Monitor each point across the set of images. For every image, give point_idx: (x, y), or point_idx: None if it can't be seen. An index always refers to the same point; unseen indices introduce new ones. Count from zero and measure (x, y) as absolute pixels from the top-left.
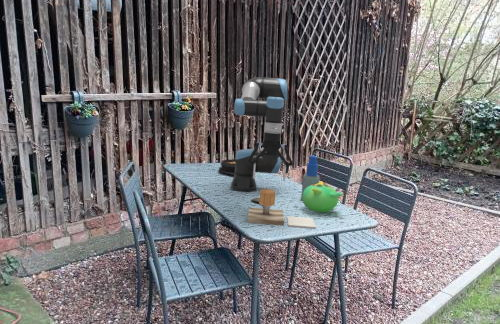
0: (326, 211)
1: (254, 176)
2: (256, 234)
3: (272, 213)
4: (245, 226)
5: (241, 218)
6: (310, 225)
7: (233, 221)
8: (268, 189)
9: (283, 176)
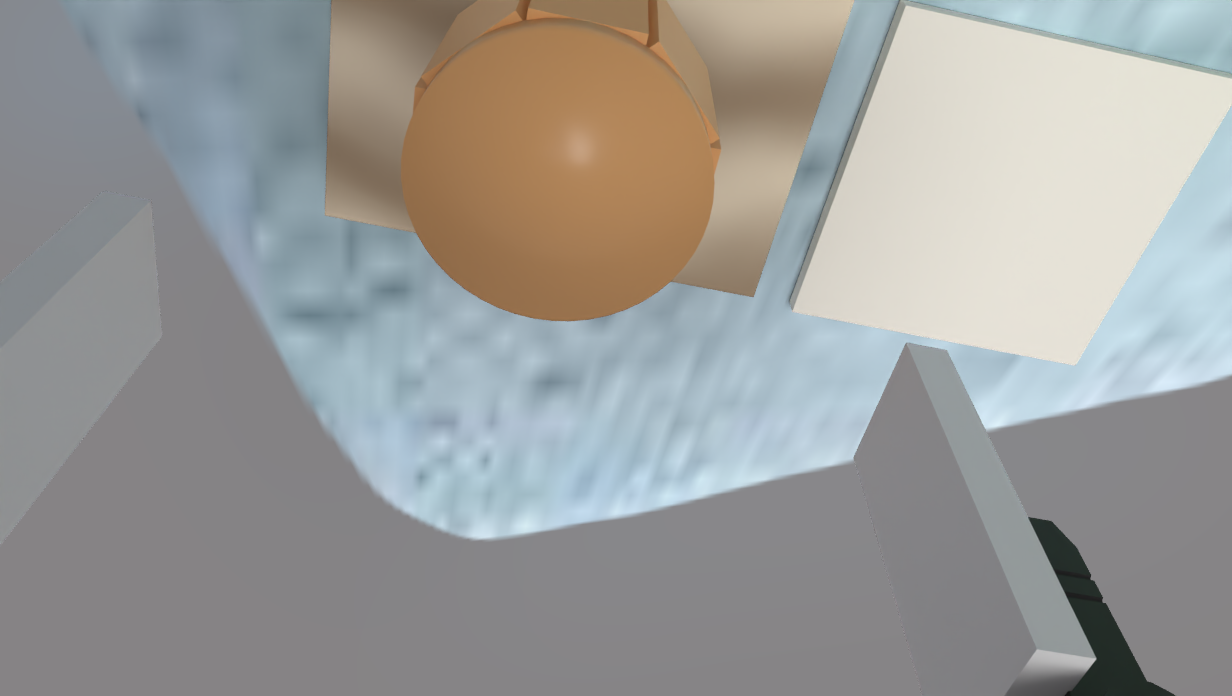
0: None
1: (130, 369)
2: (422, 463)
3: (686, 17)
4: (319, 295)
5: (258, 45)
6: (1041, 323)
7: (170, 154)
8: (594, 77)
9: (887, 501)
